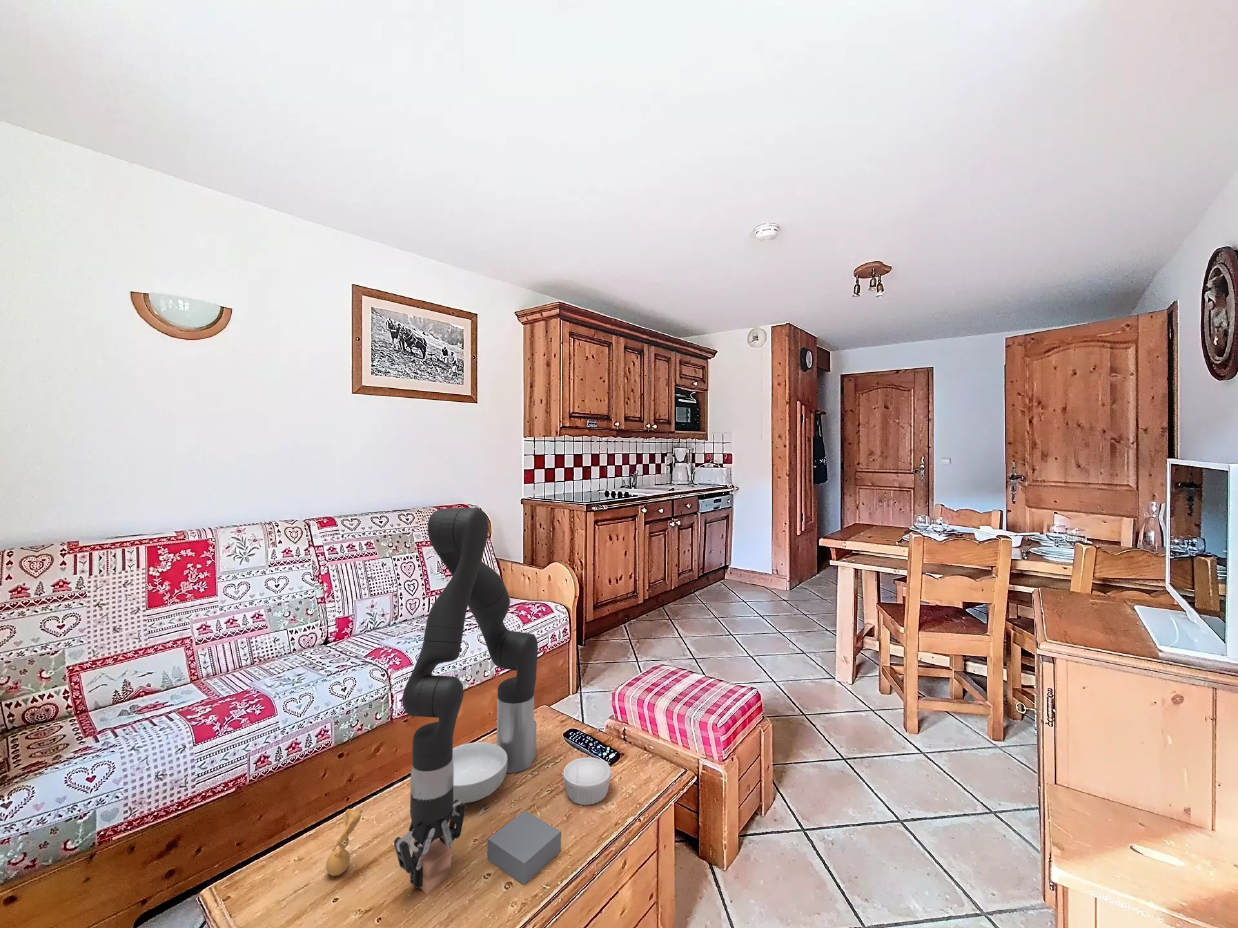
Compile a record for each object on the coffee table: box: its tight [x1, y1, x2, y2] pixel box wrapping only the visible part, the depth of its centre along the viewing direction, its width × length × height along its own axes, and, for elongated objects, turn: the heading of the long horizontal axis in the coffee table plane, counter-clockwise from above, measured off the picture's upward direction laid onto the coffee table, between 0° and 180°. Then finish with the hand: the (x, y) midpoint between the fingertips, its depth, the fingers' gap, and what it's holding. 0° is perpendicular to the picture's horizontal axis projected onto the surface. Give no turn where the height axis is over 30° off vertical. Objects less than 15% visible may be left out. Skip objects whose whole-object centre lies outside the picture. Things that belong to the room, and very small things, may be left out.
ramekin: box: [562, 756, 612, 806], centre depth 119 cm, size 11×11×5 cm
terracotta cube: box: [417, 838, 452, 894], centre depth 94 cm, size 5×5×5 cm
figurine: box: [325, 808, 363, 877], centre depth 95 cm, size 8×6×12 cm
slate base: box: [486, 810, 562, 886], centre depth 100 cm, size 10×10×4 cm
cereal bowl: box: [452, 741, 508, 804], centre depth 119 cm, size 17×17×7 cm
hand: (430, 874), depth 94 cm, fingers closed on terracotta cube, 5 cm apart
